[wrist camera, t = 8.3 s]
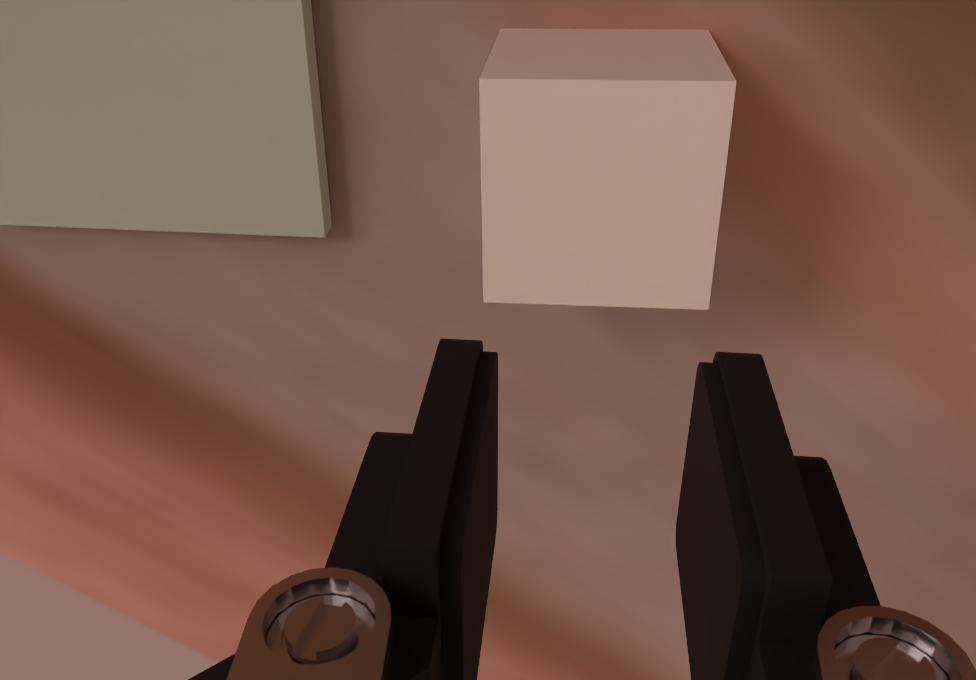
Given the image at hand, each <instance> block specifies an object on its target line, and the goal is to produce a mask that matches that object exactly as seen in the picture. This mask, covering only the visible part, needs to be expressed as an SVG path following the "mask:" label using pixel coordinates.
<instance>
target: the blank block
mask: <svg viewBox="0 0 976 680" xmlns="http://www.w3.org/2000/svg"><path fill="white" fill-rule="evenodd" d="M736 82H737V81H736V79H735V77H734V76H733V74H732V72H731V70H730V68H729V67H728V65H727V63H726V61H725V59H724V57H723V56H722V54H721V52H720V50H719V48H718V46H717V45H716V43H715V41H714V39H713V37H712V36H711V34H710V32H709V30H683V29H500V31H499V34H498V36H497V38H496V41H495V43H494V45H493V48H492V50H491V52H490V55H489V57H488V59H487V62H486V64H485V66H484V69H483V71H482V73H481V76H480V78H479V94H480V149H481V203H482V257H483V302H490V303H520V304H550V305H579V306H609V307H639V308H668V309H698V310H709V302H710V294H711V286H712V278H713V270H714V262H715V254H716V245H717V237H718V229H719V221H720V213H721V205H722V196H723V188H724V180H725V172H726V164H727V156H728V147H729V139H730V131H731V123H732V115H733V107H734V99H735V90H736Z"/></svg>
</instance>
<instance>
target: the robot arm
mask: <svg viewBox="0 0 976 680" xmlns="http://www.w3.org/2000/svg"><path fill="white" fill-rule="evenodd" d="M497 481H498V354H497V352H483V343H482V341H478V340H457V339H440V341H439V344H438V348H437V351H436V355H435V358H434V362H433V365H432V368H431V372H430V375H429V379H428V382H427V386H426V389H425V393H424V396H423V400H422V403H421V407H420V410H419V413H418V417H417V420H416V424H415V427H414V431H413V434H403V433H385V432H376V433H374V434H373V435H372V437H371V440H370V442H369V444H368V447H367V450H366V453H365V456H364V459H363V461H362V464H361V467H360V470H359V473H358V476H357V478H356V481H355V484H354V487H353V490H352V492H351V495H350V498H349V501H348V504H347V507H346V509H345V512H344V515H343V518H342V521H341V524H340V526H339V529H338V532H337V535H336V538H335V540H334V543H333V546H332V549H331V552H330V555H329V557H328V560H327V563H326V566H325V568H319V569H310V570H307V571H304V572H301V573H297V574H294V575H291V576H289V577H287V578H286V579H284V580H282V581H280V582H279V583H277V584H275V585H273V586H272V587H271V588H270V589H269V590H268V591H267V592H266V593H265V594H264V595H263V596H262V597H261V598H260V599H258V601H257V602H256V604H255V606H254V608H253V610H252V611H251V613H250V615H249V617H248V619H247V622H246V625H245V628H244V631H243V634H242V637H241V640H240V642H239V645H238V648H237V651H236V654H234V655H232V656H230V657H228V658H226V659H225V660H223V661H221V662H219V663H217V664H216V665H214V666H212V667H210V668H208V669H207V670H205V671H203V672H201V673H199V674H197V675H196V676H194V677H192V678H190V679H188V680H477V673H478V666H479V658H480V651H481V643H482V636H483V628H484V620H485V613H486V605H487V598H488V590H489V583H490V575H491V568H492V560H493V553H494V545H495V537H496V527H497ZM676 551H677V559H678V568H679V577H680V585H681V594H682V603H683V611H684V620H685V629H686V637H687V646H688V655H689V663H690V672H691V680H976V670H975V668H974V666H973V664H972V663H971V661H970V659H969V657H968V656H967V654H966V653H965V652H964V651H963V649H962V648H961V647H960V646H959V645H958V644H957V643H956V642H955V641H954V640H953V639H952V638H951V637H950V636H949V635H947V634H946V633H944V632H943V631H941V630H940V629H938V628H937V627H935V626H934V625H932V624H931V623H930V622H928V621H926V620H923V619H921V618H919V617H917V616H914V615H912V614H910V613H907V612H905V611H901V610H896V609H892V608H887V607H883V606H881V605H880V603H879V600H878V597H877V595H876V592H875V589H874V586H873V584H872V581H871V578H870V575H869V573H868V570H867V567H866V564H865V562H864V559H863V556H862V554H861V551H860V548H859V545H858V543H857V540H856V537H855V534H854V532H853V529H852V526H851V523H850V521H849V518H848V515H847V513H846V510H845V507H844V504H843V502H842V499H841V496H840V493H839V491H838V488H837V485H836V482H835V480H834V477H833V474H832V471H831V469H830V467H829V465H828V463H827V461H826V460H825V459H823V458H822V457H804V456H794V455H793V452H792V449H791V446H790V443H789V439H788V436H787V433H786V430H785V427H784V424H783V420H782V417H781V414H780V411H779V408H778V404H777V401H776V398H775V395H774V392H773V389H772V385H771V382H770V379H769V376H768V373H767V370H766V366H765V363H764V360H763V358H762V356H761V354H749V353H728V352H716V354H715V356H714V359H713V363H707V362H700V363H699V364H698V368H697V374H696V381H695V389H694V396H693V403H692V411H691V418H690V426H689V433H688V441H687V448H686V455H685V463H684V470H683V478H682V485H681V493H680V500H679V508H678V515H677V523H676Z"/></svg>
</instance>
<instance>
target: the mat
mask: <svg viewBox="0 0 976 680" xmlns="http://www.w3.org/2000/svg"><path fill="white" fill-rule="evenodd" d="M0 225H17V226H43V227H68V228H93V229H119V230H144V231H169V232H195V233H220V234H245V235H271V236H296V237H321V238H325V237H326V235H327V234H328V232H329V230H330V229H331V227H332V218H331V208H330V197H329V186H328V176H327V165H326V155H325V144H324V133H323V123H322V112H321V102H320V91H319V80H318V70H317V59H316V49H315V38H314V27H313V17H312V6H311V0H0Z"/></svg>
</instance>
